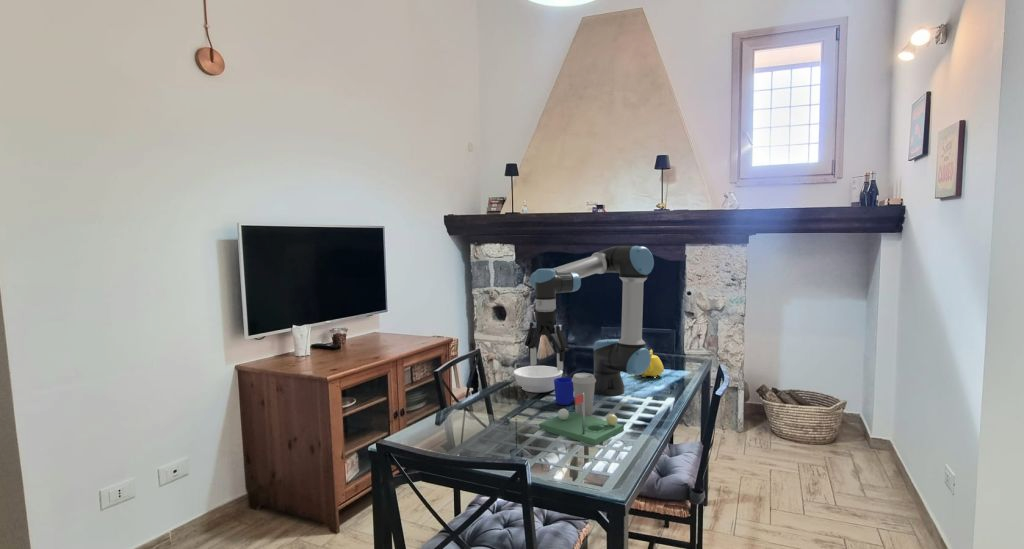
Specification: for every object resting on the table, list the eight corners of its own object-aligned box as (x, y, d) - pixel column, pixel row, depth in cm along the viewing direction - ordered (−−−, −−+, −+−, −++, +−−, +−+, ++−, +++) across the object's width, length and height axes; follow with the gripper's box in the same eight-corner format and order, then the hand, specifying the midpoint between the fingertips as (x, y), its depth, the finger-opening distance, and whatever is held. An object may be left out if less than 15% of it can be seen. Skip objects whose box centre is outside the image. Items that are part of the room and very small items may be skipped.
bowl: (563, 383, 259) (562, 365, 259) (562, 396, 237) (562, 377, 236) (516, 382, 261) (515, 365, 261) (511, 396, 239) (511, 377, 238)
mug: (582, 407, 221) (582, 383, 220) (553, 406, 223) (552, 382, 223) (584, 401, 229) (583, 377, 228) (555, 400, 231) (555, 377, 231)
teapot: (634, 370, 281) (634, 348, 280) (664, 372, 276) (664, 349, 275) (630, 380, 262) (630, 356, 261) (662, 382, 257) (662, 358, 256)
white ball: (562, 417, 203) (562, 406, 203) (571, 419, 201) (570, 408, 200) (555, 419, 200) (555, 409, 200) (564, 422, 198) (564, 411, 197)
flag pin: (583, 432, 186) (582, 392, 185) (585, 433, 186) (584, 393, 185) (574, 437, 183) (574, 396, 182) (576, 437, 182) (576, 396, 181)
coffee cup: (577, 418, 208) (577, 379, 207) (568, 410, 217) (567, 373, 216) (600, 415, 210) (600, 377, 209) (590, 408, 220) (590, 371, 219)
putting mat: (569, 416, 210) (569, 411, 210) (623, 430, 194) (623, 425, 194) (539, 429, 197) (539, 423, 197) (595, 445, 180) (595, 439, 180)
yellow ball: (610, 422, 196) (610, 411, 196) (619, 425, 193) (619, 414, 193) (604, 425, 193) (603, 414, 193) (613, 428, 191) (613, 416, 190)
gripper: (514, 308, 208) (515, 364, 210) (565, 313, 192) (566, 374, 193) (527, 306, 214) (528, 361, 215) (578, 311, 198) (579, 370, 199)
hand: (546, 367), depth 204 cm, fingers open, 12 cm apart
